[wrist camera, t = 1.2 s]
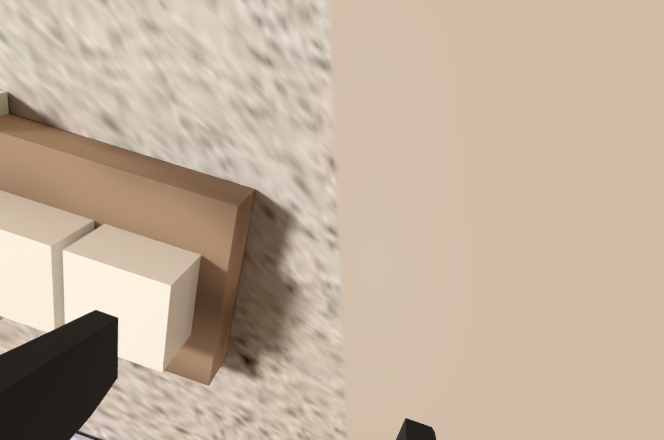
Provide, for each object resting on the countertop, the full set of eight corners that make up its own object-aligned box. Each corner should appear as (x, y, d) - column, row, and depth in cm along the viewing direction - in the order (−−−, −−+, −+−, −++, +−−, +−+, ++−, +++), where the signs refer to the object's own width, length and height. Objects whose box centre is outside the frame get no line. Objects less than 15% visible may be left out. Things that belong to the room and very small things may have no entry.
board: (225, 358, 24) (208, 385, 22) (22, 289, 25) (-9, 310, 23) (255, 189, 20) (237, 206, 18) (9, 113, 21) (-31, 122, 19)
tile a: (190, 335, 21) (162, 372, 19) (103, 305, 22) (65, 338, 20) (201, 255, 19) (171, 285, 17) (104, 223, 20) (62, 249, 18)
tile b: (93, 302, 22) (54, 334, 20) (8, 273, 22) (-39, 302, 20) (94, 220, 20) (50, 246, 18) (1, 190, 20) (-53, 211, 18)
